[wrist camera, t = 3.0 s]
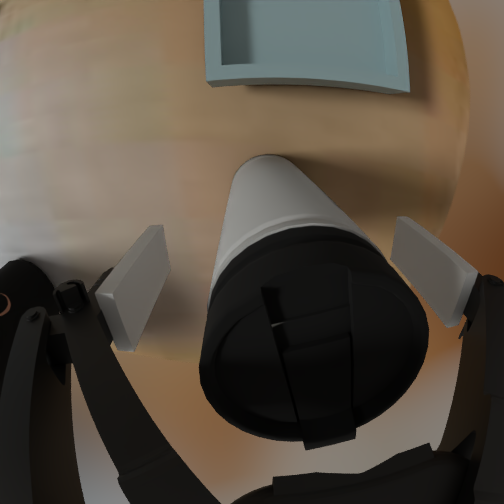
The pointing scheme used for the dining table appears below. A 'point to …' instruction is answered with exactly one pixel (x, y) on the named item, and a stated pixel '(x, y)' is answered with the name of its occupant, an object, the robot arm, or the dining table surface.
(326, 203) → the travel mug
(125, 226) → the dining table surface
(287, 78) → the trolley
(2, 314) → the coffee jar
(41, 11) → the dining table surface
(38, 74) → the dining table surface
